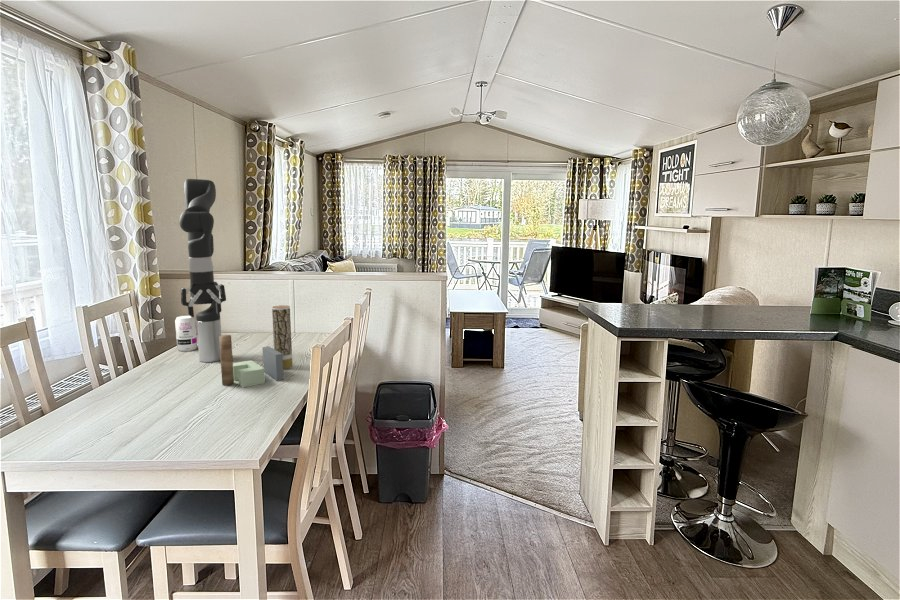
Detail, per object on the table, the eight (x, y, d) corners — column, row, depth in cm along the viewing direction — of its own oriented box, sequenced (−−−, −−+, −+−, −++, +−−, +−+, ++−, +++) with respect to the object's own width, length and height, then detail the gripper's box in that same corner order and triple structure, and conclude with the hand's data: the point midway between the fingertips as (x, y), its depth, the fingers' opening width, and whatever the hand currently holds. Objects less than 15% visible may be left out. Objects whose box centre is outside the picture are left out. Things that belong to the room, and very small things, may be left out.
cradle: (230, 377, 202) (230, 363, 201) (252, 373, 207) (251, 360, 206) (242, 387, 191) (241, 372, 190) (264, 383, 196) (264, 368, 195)
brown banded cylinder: (220, 383, 195) (217, 335, 192) (232, 381, 197) (229, 334, 194) (224, 386, 192) (220, 338, 189) (235, 384, 194) (232, 336, 191)
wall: (263, 371, 209) (262, 347, 208) (270, 370, 211) (268, 346, 209) (276, 380, 199) (275, 354, 197) (283, 379, 200) (282, 353, 198)
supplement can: (191, 346, 248) (188, 314, 245) (200, 348, 243) (198, 316, 241) (173, 349, 241) (171, 317, 239) (183, 352, 237) (180, 319, 234)
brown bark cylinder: (287, 370, 211) (284, 308, 207) (271, 369, 213) (268, 307, 209) (295, 365, 218) (293, 305, 214) (280, 364, 219) (277, 305, 215)
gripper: (220, 267, 192) (223, 311, 195) (176, 270, 184) (181, 316, 187) (225, 269, 186) (229, 314, 189) (180, 272, 178) (185, 319, 181)
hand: (205, 315), depth 188 cm, fingers open, 8 cm apart
